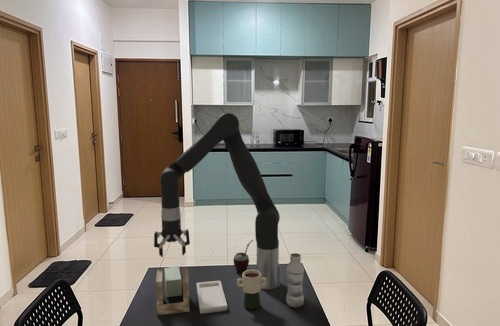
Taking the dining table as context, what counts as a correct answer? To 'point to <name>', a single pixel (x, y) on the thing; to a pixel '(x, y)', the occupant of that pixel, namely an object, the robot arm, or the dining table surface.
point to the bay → (173, 306)
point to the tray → (211, 297)
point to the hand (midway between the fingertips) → (172, 255)
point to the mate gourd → (241, 261)
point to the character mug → (251, 288)
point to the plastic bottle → (295, 281)
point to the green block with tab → (173, 282)
